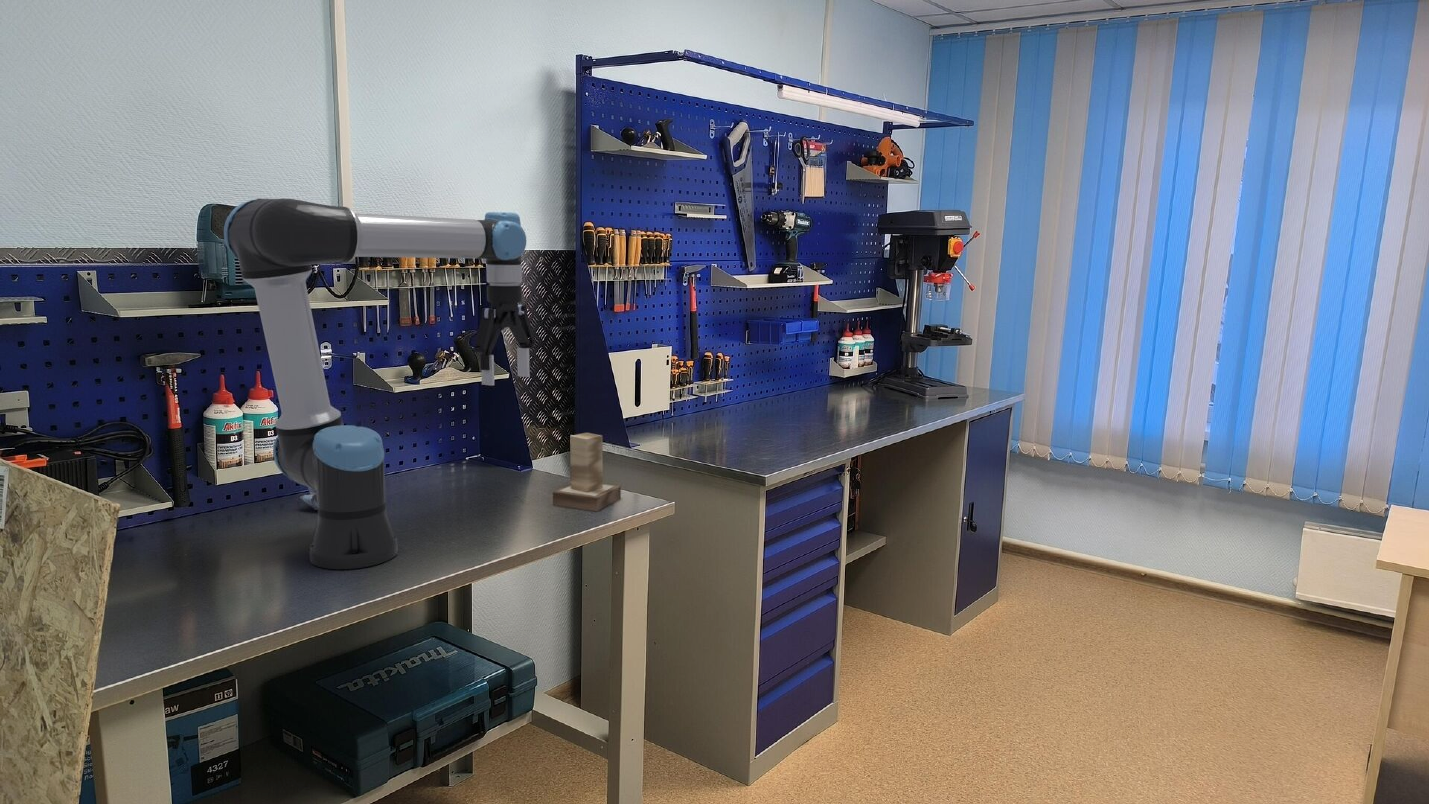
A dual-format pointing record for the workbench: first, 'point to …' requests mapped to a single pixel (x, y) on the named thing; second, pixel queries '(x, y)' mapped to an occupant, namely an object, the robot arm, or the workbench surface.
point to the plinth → (587, 497)
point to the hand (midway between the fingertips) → (506, 380)
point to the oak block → (586, 462)
